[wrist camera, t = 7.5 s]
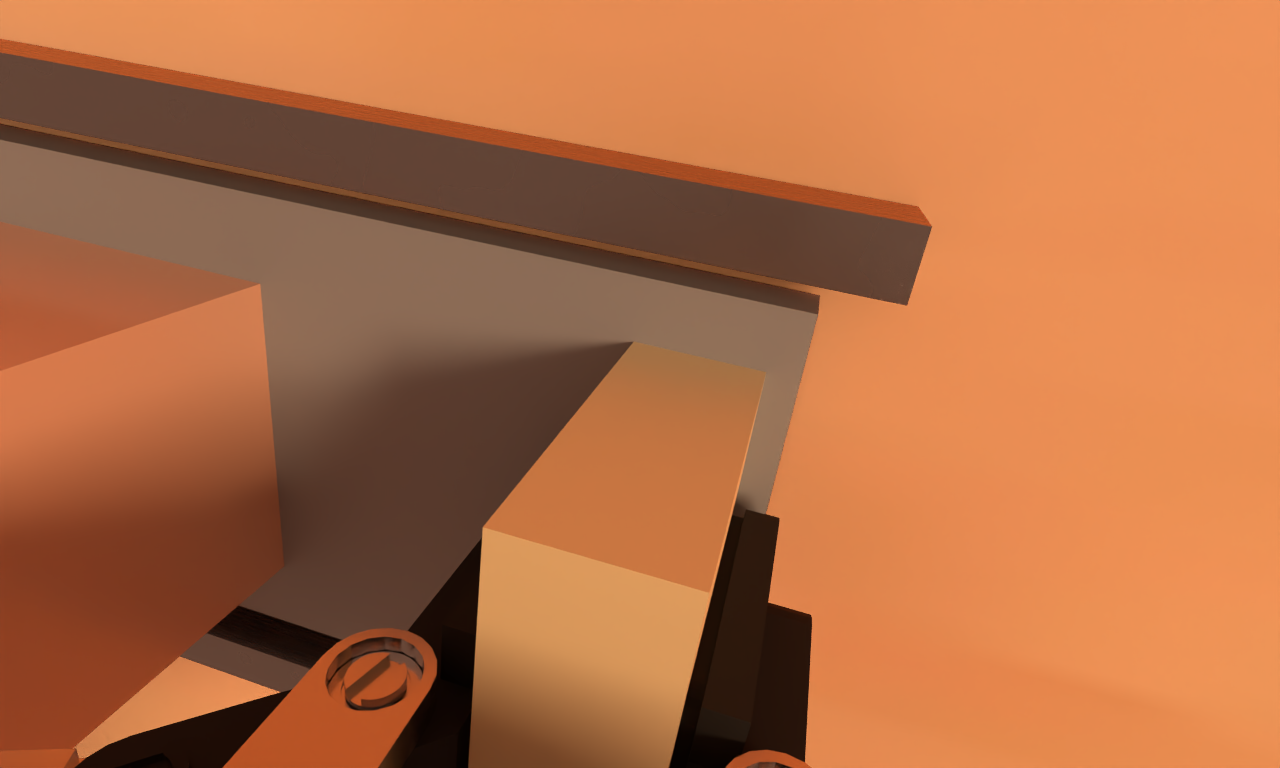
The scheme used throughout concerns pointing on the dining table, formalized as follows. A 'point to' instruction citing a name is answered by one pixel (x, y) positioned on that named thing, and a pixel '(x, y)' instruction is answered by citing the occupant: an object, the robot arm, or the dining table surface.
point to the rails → (461, 211)
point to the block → (122, 474)
